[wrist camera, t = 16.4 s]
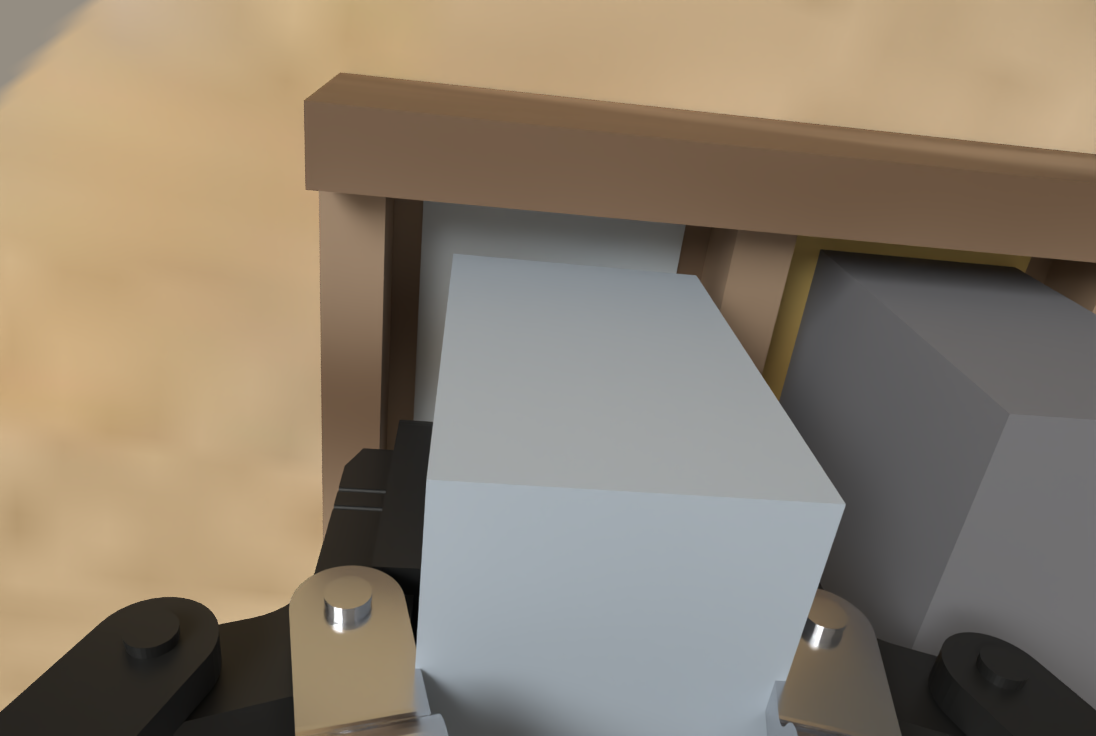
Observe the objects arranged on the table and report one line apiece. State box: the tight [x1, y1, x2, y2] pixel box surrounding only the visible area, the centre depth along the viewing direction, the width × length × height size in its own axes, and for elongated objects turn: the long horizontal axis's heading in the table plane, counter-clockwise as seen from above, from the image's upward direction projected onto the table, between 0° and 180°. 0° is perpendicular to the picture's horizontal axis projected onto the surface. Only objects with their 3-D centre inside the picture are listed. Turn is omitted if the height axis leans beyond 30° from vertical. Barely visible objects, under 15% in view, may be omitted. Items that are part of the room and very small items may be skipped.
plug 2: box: [779, 249, 1096, 710], centre depth 14 cm, size 7×4×6 cm, turn 173°
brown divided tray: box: [304, 73, 1096, 541], centre depth 15 cm, size 10×14×3 cm
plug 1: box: [415, 254, 846, 736], centre depth 11 cm, size 7×4×6 cm, turn 173°
